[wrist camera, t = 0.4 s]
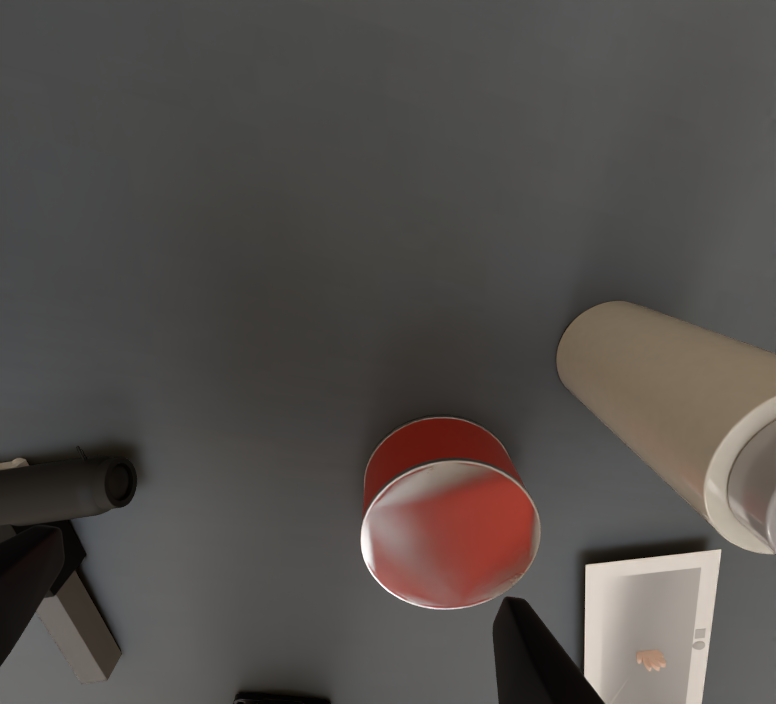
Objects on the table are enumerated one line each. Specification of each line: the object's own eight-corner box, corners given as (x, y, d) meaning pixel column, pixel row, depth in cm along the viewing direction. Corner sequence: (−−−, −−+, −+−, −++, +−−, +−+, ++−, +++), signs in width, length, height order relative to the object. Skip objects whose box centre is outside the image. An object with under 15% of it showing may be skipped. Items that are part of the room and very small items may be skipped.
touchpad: (576, 721, 31) (590, 757, 29) (577, 551, 27) (594, 579, 24) (687, 709, 31) (709, 745, 29) (707, 536, 26) (735, 563, 24)
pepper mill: (644, 409, 24) (966, 648, 11) (544, 396, 23) (750, 627, 10) (679, 308, 22) (1110, 446, 9) (572, 293, 22) (859, 414, 9)
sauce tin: (495, 550, 26) (518, 617, 22) (355, 535, 26) (350, 601, 22) (528, 424, 24) (561, 472, 20) (374, 405, 23) (372, 450, 19)
